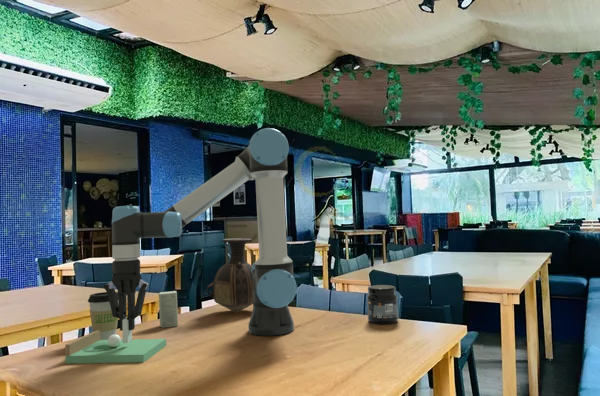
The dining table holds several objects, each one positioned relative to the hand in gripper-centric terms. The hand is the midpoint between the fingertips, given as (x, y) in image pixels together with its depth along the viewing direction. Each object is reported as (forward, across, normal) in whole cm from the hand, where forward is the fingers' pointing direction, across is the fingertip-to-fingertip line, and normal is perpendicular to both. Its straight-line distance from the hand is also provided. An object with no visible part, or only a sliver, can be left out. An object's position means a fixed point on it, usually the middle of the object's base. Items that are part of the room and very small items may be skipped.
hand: (127, 341), depth 129 cm
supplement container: (+3, -76, -34) cm, 84 cm away
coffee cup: (+4, +15, -15) cm, 21 cm away
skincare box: (+4, +1, -34) cm, 34 cm away
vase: (+4, -20, -55) cm, 59 cm away
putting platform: (+4, +3, 0) cm, 4 cm away
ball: (0, +4, 0) cm, 4 cm away
